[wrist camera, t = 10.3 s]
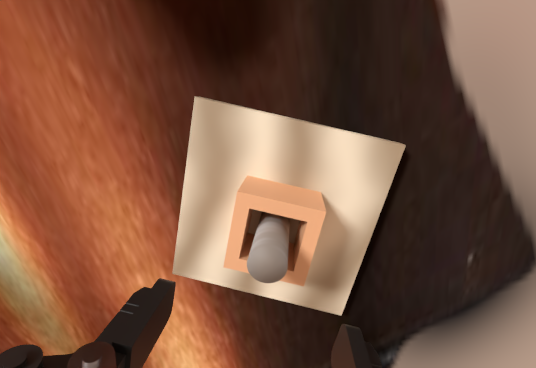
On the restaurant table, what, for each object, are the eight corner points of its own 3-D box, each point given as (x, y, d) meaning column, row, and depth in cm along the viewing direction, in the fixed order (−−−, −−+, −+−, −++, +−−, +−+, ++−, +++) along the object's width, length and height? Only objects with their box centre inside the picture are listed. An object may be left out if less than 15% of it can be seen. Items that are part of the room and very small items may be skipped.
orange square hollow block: (234, 240, 24) (223, 267, 20) (247, 175, 22) (237, 191, 18) (302, 256, 24) (303, 286, 20) (320, 192, 22) (326, 211, 18)
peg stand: (177, 266, 26) (128, 335, 19) (200, 96, 22) (146, 95, 14) (339, 306, 26) (358, 394, 18) (400, 142, 21) (461, 168, 13)
